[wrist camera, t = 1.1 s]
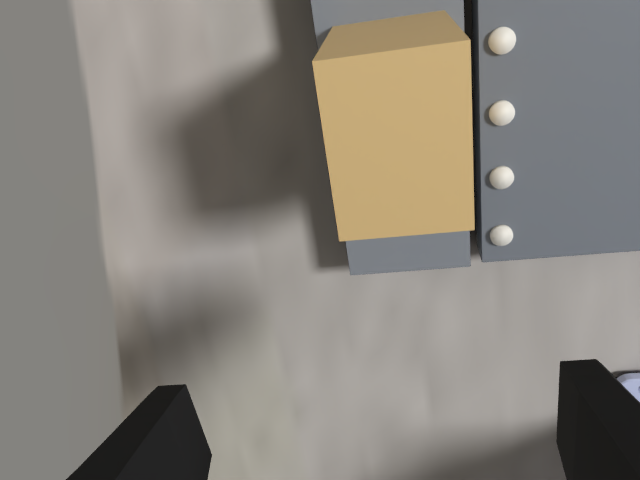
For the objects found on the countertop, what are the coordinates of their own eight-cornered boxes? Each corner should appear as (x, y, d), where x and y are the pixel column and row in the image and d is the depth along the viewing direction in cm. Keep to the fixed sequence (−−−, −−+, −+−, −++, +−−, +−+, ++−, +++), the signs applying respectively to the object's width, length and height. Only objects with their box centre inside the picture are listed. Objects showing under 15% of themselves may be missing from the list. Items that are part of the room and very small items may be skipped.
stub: (453, -170, 14) (498, -242, 8) (466, 248, 19) (498, 369, 14) (296, -139, 14) (243, -187, 9) (352, 257, 20) (340, 376, 14)
